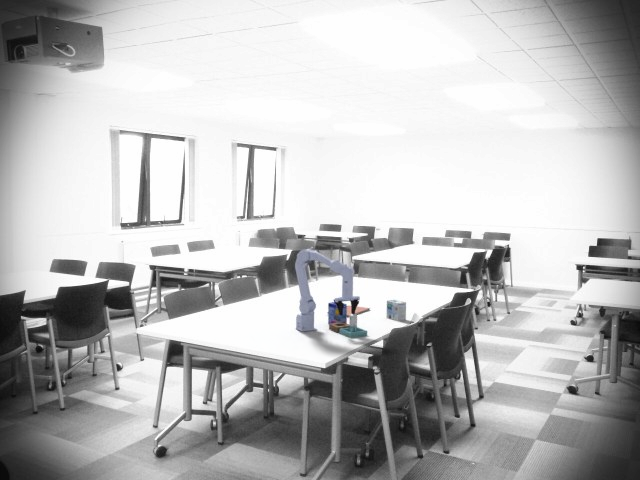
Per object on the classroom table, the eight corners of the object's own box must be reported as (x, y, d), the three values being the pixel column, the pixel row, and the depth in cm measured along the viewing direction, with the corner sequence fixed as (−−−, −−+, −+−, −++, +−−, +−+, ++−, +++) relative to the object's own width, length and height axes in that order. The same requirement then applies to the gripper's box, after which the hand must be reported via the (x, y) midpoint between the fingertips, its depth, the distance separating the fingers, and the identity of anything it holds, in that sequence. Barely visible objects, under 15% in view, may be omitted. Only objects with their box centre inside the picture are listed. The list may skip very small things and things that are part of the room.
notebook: (347, 307, 374) (347, 304, 374) (370, 310, 365) (370, 307, 365) (325, 314, 351) (325, 311, 351) (349, 318, 342) (349, 314, 342)
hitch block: (337, 332, 302) (337, 327, 302) (329, 329, 310) (329, 323, 310) (351, 330, 307) (351, 325, 307) (342, 327, 315) (342, 322, 314)
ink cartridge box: (327, 323, 324) (327, 298, 323) (333, 322, 328) (333, 297, 327) (341, 326, 317) (341, 301, 316) (347, 324, 322) (347, 299, 321)
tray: (350, 337, 292) (350, 333, 292) (339, 333, 301) (339, 328, 301) (367, 335, 297) (367, 330, 297) (356, 331, 306) (356, 326, 306)
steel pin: (351, 334, 296) (352, 315, 296) (347, 332, 300) (348, 314, 299) (358, 333, 298) (358, 315, 298) (354, 332, 302) (354, 313, 301)
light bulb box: (386, 318, 341) (386, 300, 340) (394, 316, 345) (394, 299, 344) (397, 321, 332) (398, 303, 331) (406, 320, 336) (406, 302, 335)
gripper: (339, 291, 292) (339, 317, 293) (363, 289, 300) (362, 314, 301) (332, 289, 298) (332, 314, 300) (355, 287, 306) (355, 312, 307)
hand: (347, 314), depth 300 cm, fingers open, 7 cm apart
